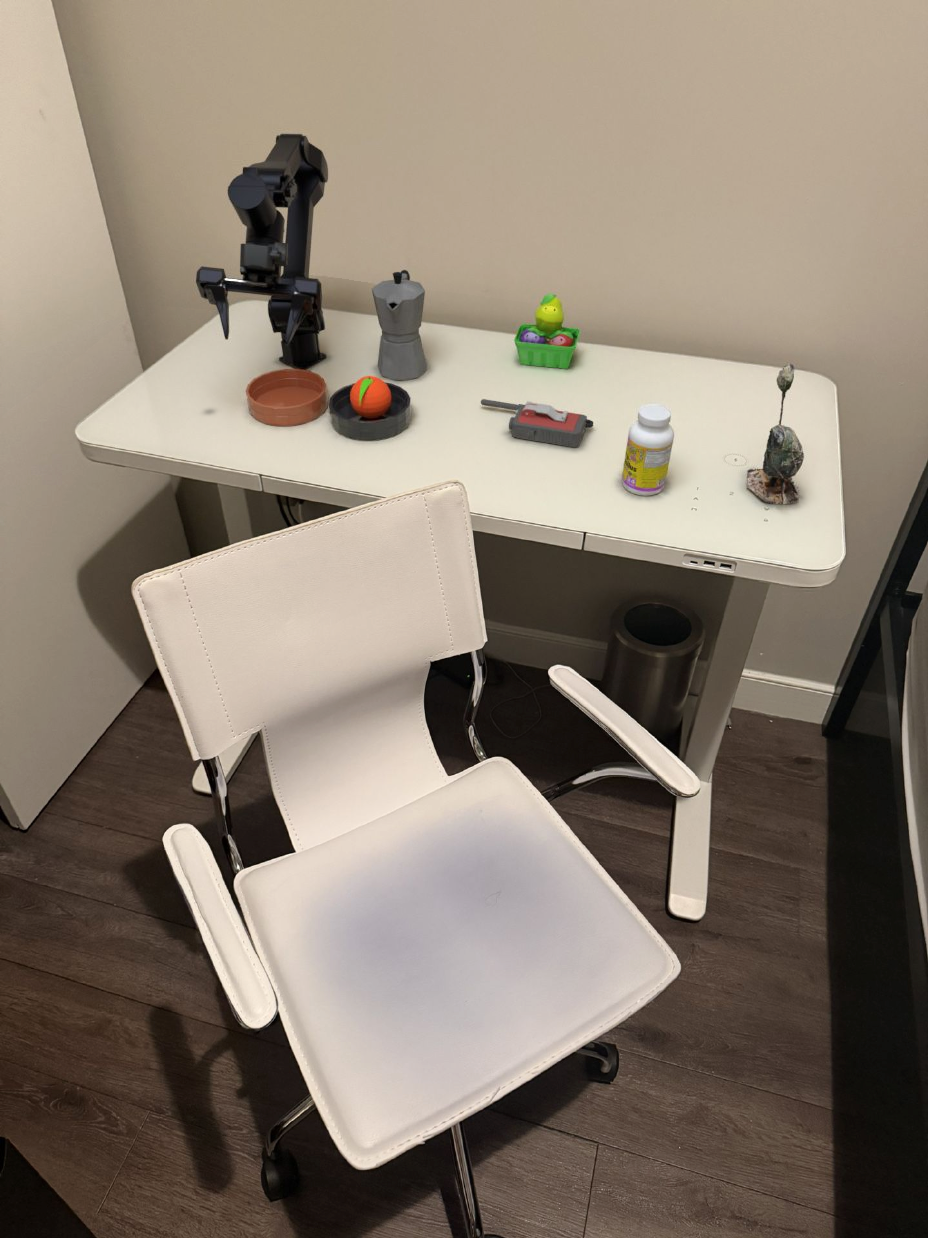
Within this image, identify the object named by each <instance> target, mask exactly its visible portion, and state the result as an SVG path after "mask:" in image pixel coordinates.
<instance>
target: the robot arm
mask: <svg viewBox="0 0 928 1238" xmlns="http://www.w3.org/2000/svg"><path fill="white" fill-rule="evenodd" d="M328 182H329V166H328V162H327V160H326V157H325V154H324V152H323V151H322V150H321V149H320V148H318V147H317V146H315V145H313V143H311V142H310V141H309V139H308V137H307V135H303V133H280V134H277V135H276V137H275V144H274V145H273V147H272V149H271V150H270V152H269V154H268V155H267V156H266V158H265V160H264V161H261V162H256V163H252V164H251V165H249V166H243V167H242V173H240V174H238V175H237V176H235V177H234V178H233V179H232V180H231V182H229V185H228V186H227V197H228V200H229V201H230V203H231V205H232V207H233V209H234V210H235V213H236V214H237V216H238V218H239V220H240V222H241V224H242V225H244V226H245V227H246V232H245V243H240V249H239V250H240V251H239V252H240V253H239V273H240V275H241V276H242V278H241V279H240V278H231V277H227V275H226V272H225V268H222V267H221V268H220V267H212V266H211V267H210V266H200V267H199V268H198V269H197V271H196V276H195V278H196V279H195V283H196V286H197V289H198V292H199V295H200V298H203V299H205V300H207V301H208V304H210V305H213V306H216V308H217V311H218V314H219V319H220V323H221V327H222V331H223V336H224V338H225V340H229V335H230V303H229V299H228V295H229V292H232V293H240V294H241V293H242V294H249V295H259V296H268V297H270V298H269V299H268V302H267V314H268V319H269V323H270V325H271V329H272V332H273V334H277V333H280V336H281V341H280V346H281V353H282V355H281V356H280V357H279V358H278V361H279V362H281V363H283V364H285V365H288V366H291V367H294V368H295V369H302V370H308V369H309V368H310V367H312V366H314V365H316V364H318V363H320V362H321V361H323V360H325V359H326V358H327V354H326V353H323V352H321V349H320V343H319V342H320V341H319V335H320V333H321V332H322V331H325V330H326V325H325V324H326V323H325V317H324V312H323V309H322V306H323V305H322V304H323V288H322V287H323V286H322V282H321V281H320V280H319V279H318V278H313V277H312V278H311V277H310V266H311V265H310V264H311V251H312V238H313V237H312V236H313V221H314V209H315V207H316V205H318V203H319V202H320V201H321V200H322V198H323V197H324V195H325V186H326V183H328ZM277 208H280V209H281V208H282V209H283V208H285V209H287V213H286V214H287V216H286V219H285V217H284V216H283V214H282V213H281V212H280V210H278V209H277ZM285 220H286V221H285ZM285 223H286V226H285ZM285 227H286V229H285ZM284 234H285V236H284ZM284 237H285V242H284ZM282 267H283V269H282Z"/></svg>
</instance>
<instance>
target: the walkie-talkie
mask: <svg viewBox="0 0 928 1238" xmlns="http://www.w3.org/2000/svg"><path fill="white" fill-rule="evenodd" d="M480 405H482V406H486V407H492V408H498V409H504V410H509V411H510V410H511V411H515V416H511V417H510V418H509V422H508V429H509V430H510V431H511V437H513V438H518V439H522V440H529V441H534V442H539V443H547V444H553V445H558V446H563V447H570V448H576V447H580V444H581V442H582V439H583V437H584V436H585V435H584V434H585V433H586V429H591V428H593V427H594V421H593V420H591V419H588V416H587V415H585V414H581V413H575V412H569V411H567V410H565V411H564V410H558V409H556V408H555V407H553V406H552V405H549V404H544V403H537V402H533V401H529V400H527V401H526V402H525V404H521V403H519V404H516V403H510V402H503V401H499V400H491V399H486V398H482V399H481V400H480Z"/></svg>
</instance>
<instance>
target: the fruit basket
mask: <svg viewBox="0 0 928 1238" xmlns="http://www.w3.org/2000/svg"><path fill="white" fill-rule="evenodd" d="M562 307H563V304H562V301H561V299H559V298H558V297H557V294H550V293H548V294H545V295H544V296H543V298H542V301H541V302H540V303H539V307H538V308H537V309H536V310H535V313H534V318H535V324H530V323H525V324H524V323H523V324H521V325H519V327H518V329H517V332H516V334H515V337H514V345H515V347H516V351H517V355H518V359H519V363H520V365H522V366H523V365H525V366H535V367H546V368H555V369H556V368H558V369H564V370H568V369H569V366H570V364H571V360H572V358H573V354H574V351H575V350H576V348H577V345H578V342H579V341H578V340H579V337H580V334H581V330H580V329H579V328H574V327H567V326H565V327H564V326H563V323H564V319H565V316H564V312H563V308H562Z"/></svg>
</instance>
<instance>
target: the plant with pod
mask: <svg viewBox="0 0 928 1238" xmlns="http://www.w3.org/2000/svg"><path fill="white" fill-rule="evenodd" d="M794 378H795V366H794V364H792V363H786V364H785V365H784V366H783V367H782V369H781V370H779V372H778V375H777V377H776V385H777V387H778V388H777V389H779V390H780V392H781V403H780V404H781V405H780V406H781V407H780V414H779V421H778V424H777V425H775V426H772V427H771V428H770V430H769V435H768V438H767V442H766V445H765V446H766V449H765V452H764V454H763V462H762V468H759V469H758V468H754V469H753V468H749V469H747V470H746V472H747V473H746V475H747V479H746V488H747V489H749V490H751V492H753V494H754V495H755V496H758V497H759V499H760V501H763V502H764V503H767V504H773V505H779V504H780V505H785V504H786V505H792V504H795V502H798V501H799V500H800V495H799V490H798V489H799V486H797V485H796V484H795V481H793V477H795V476H796V475H797V473H798V472H799V471H800V469H801V467H802V465H803V462H804V460H805V454H804V449H803V445H802V444H801V443H802V442H801V441H800V440H799V437H798V436H797V433H796V432H795V430H794V429H792V428H791V427H790V426H786V425H782V419H783V413H784V401H785V398H786V394H787V392H788V391H789V390H790V389H791V387H792V384H793V382H794Z"/></svg>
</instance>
